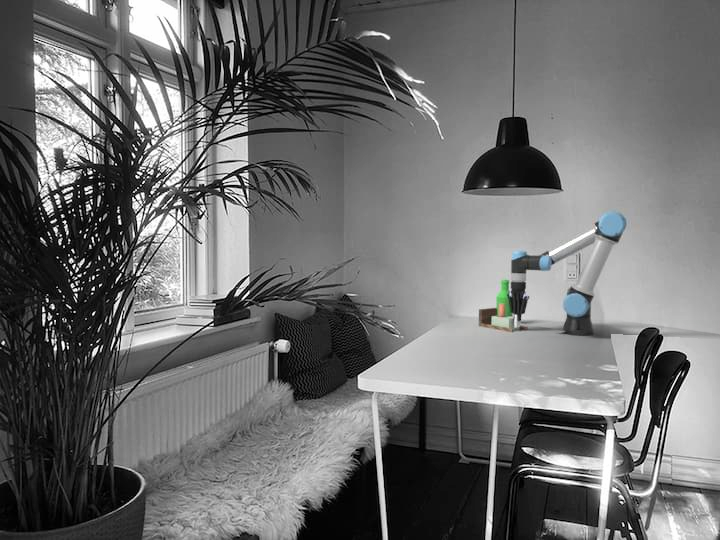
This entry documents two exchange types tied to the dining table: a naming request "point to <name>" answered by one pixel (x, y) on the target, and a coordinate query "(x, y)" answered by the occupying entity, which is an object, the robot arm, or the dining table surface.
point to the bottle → (504, 298)
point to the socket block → (504, 322)
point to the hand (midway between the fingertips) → (517, 327)
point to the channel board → (486, 320)
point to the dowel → (502, 309)
